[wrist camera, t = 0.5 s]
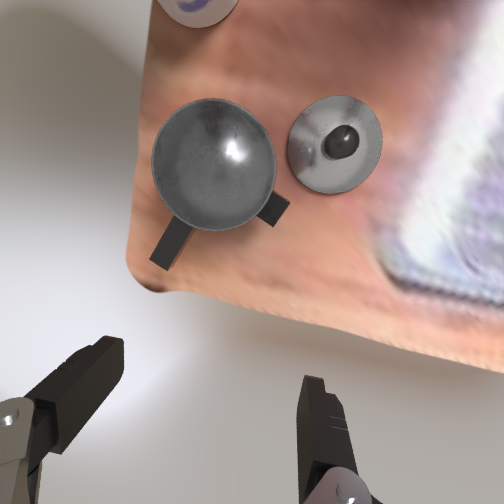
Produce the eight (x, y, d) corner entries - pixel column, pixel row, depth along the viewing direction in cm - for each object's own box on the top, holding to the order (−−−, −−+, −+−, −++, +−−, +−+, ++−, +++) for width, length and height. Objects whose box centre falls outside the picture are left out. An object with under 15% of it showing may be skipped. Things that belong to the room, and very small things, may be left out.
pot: (209, 91, 32) (190, 69, 25) (312, 164, 33) (320, 161, 26) (138, 224, 37) (106, 236, 30) (228, 284, 38) (216, 308, 31)
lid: (324, 77, 30) (333, 55, 25) (400, 133, 31) (425, 123, 26) (270, 160, 33) (267, 158, 28) (340, 210, 34) (351, 217, 28)
